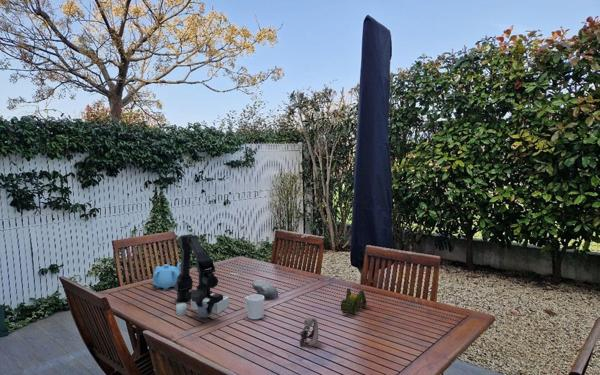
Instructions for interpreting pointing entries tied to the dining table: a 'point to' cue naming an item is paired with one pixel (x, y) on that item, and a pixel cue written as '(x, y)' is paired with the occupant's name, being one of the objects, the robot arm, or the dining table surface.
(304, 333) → the toy
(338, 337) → the dining table surface
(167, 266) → the teapot
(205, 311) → the metal block
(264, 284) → the rock
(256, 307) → the mug
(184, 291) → the robot arm
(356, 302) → the toy
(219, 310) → the tote
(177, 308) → the jar
